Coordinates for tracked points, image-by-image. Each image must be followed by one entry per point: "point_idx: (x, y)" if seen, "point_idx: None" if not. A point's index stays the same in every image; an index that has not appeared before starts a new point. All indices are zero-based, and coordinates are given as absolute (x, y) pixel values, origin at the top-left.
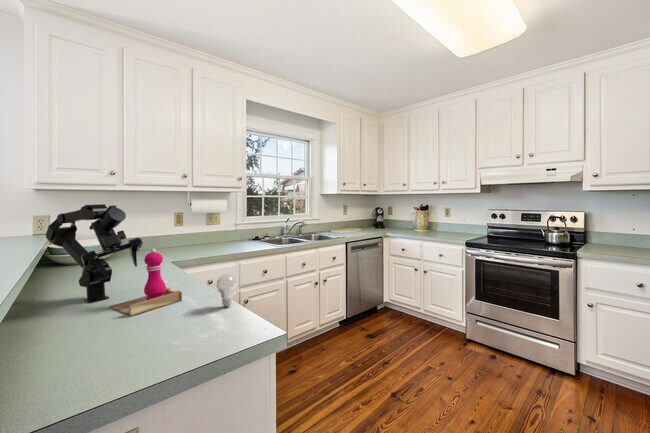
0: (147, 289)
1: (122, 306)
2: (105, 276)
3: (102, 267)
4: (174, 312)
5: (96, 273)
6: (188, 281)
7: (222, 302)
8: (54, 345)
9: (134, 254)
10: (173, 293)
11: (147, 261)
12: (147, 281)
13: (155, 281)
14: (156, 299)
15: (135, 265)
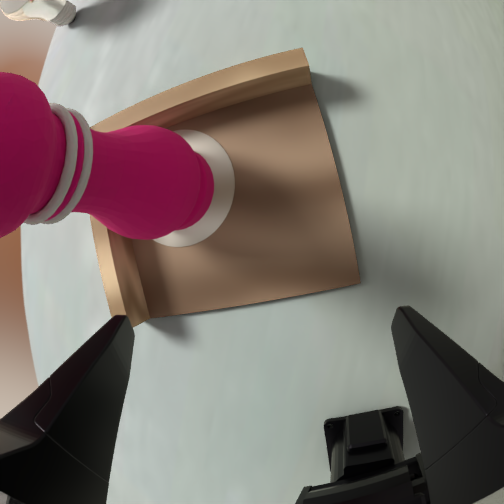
0: (180, 144)
1: (315, 222)
2: (337, 488)
3: (465, 371)
4: (172, 30)
5: (397, 494)
6: (49, 375)
7: (71, 8)
8: (500, 27)
9: (39, 404)
10: (107, 125)
11: (32, 90)
12: (148, 165)
13: (118, 131)
14: (183, 85)
15: (124, 319)
